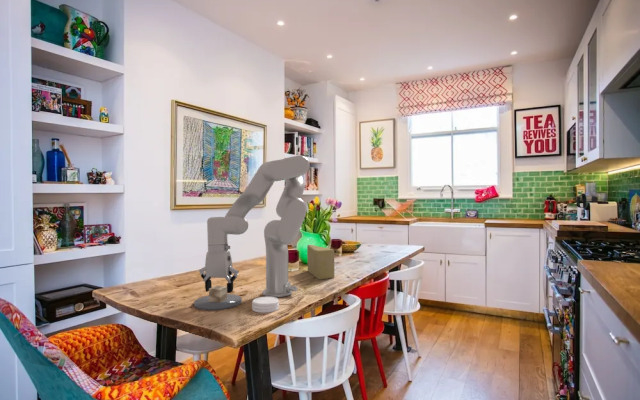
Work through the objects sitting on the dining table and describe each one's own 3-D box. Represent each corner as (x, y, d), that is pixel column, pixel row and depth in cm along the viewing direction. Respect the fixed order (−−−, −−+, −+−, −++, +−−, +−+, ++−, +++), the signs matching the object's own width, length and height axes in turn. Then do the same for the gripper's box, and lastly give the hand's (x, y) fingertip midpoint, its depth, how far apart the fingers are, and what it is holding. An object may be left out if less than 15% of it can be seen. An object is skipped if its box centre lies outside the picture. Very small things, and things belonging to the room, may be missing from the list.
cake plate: (249, 298, 149) (249, 295, 149) (225, 312, 131) (225, 309, 131) (211, 295, 154) (211, 292, 154) (184, 308, 137) (183, 305, 137)
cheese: (300, 271, 200) (300, 244, 200) (316, 270, 204) (316, 243, 204) (318, 280, 180) (317, 250, 180) (335, 278, 184) (334, 248, 184)
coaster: (280, 304, 141) (279, 295, 141) (277, 313, 131) (277, 303, 131) (254, 305, 140) (254, 296, 140) (250, 313, 130) (249, 304, 130)
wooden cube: (227, 298, 144) (227, 286, 144) (220, 302, 139) (220, 289, 139) (216, 298, 146) (216, 285, 146) (209, 301, 141) (208, 288, 141)
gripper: (242, 247, 143) (243, 290, 144) (204, 246, 148) (206, 287, 149) (232, 250, 136) (233, 295, 137) (193, 249, 141) (194, 292, 142)
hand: (219, 291), depth 143 cm, fingers open, 9 cm apart
